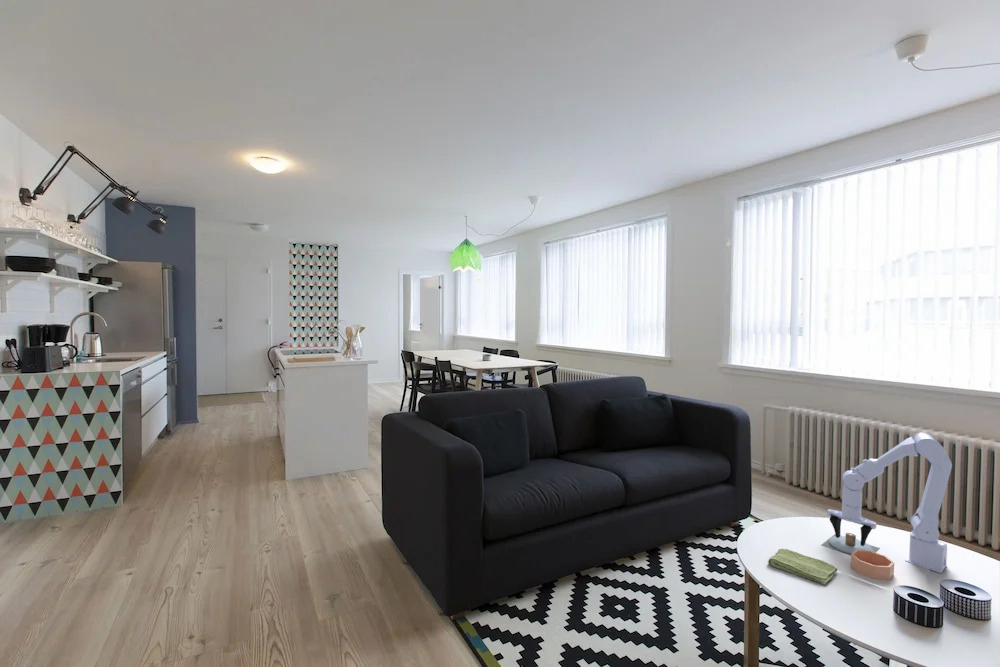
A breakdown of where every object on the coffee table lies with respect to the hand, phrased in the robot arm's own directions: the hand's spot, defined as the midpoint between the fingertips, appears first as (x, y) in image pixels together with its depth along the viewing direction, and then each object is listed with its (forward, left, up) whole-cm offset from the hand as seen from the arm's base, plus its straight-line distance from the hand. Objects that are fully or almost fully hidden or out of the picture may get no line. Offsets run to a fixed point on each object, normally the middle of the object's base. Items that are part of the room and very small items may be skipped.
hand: (850, 540), depth 178 cm
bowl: (-10, +13, -3) cm, 17 cm away
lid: (0, 0, -2) cm, 2 cm away
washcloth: (+5, +29, -3) cm, 30 cm away
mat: (0, 0, -3) cm, 3 cm away
